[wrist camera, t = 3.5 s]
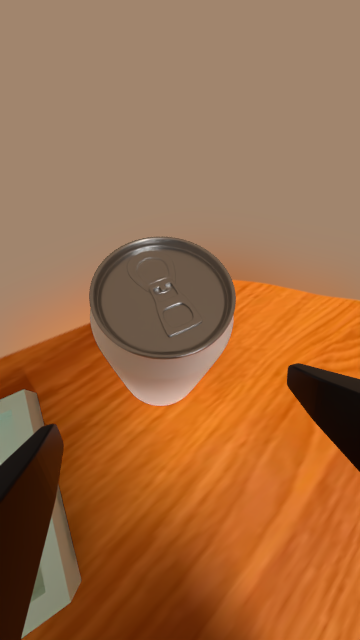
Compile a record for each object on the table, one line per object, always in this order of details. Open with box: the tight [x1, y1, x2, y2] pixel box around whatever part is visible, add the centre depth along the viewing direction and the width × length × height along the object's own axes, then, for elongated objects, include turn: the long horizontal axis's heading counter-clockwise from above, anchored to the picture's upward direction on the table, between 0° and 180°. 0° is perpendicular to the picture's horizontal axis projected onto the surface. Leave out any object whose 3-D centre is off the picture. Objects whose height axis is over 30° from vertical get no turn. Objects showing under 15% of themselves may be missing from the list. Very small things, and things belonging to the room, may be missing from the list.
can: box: [89, 237, 236, 406], centre depth 14 cm, size 6×6×12 cm
